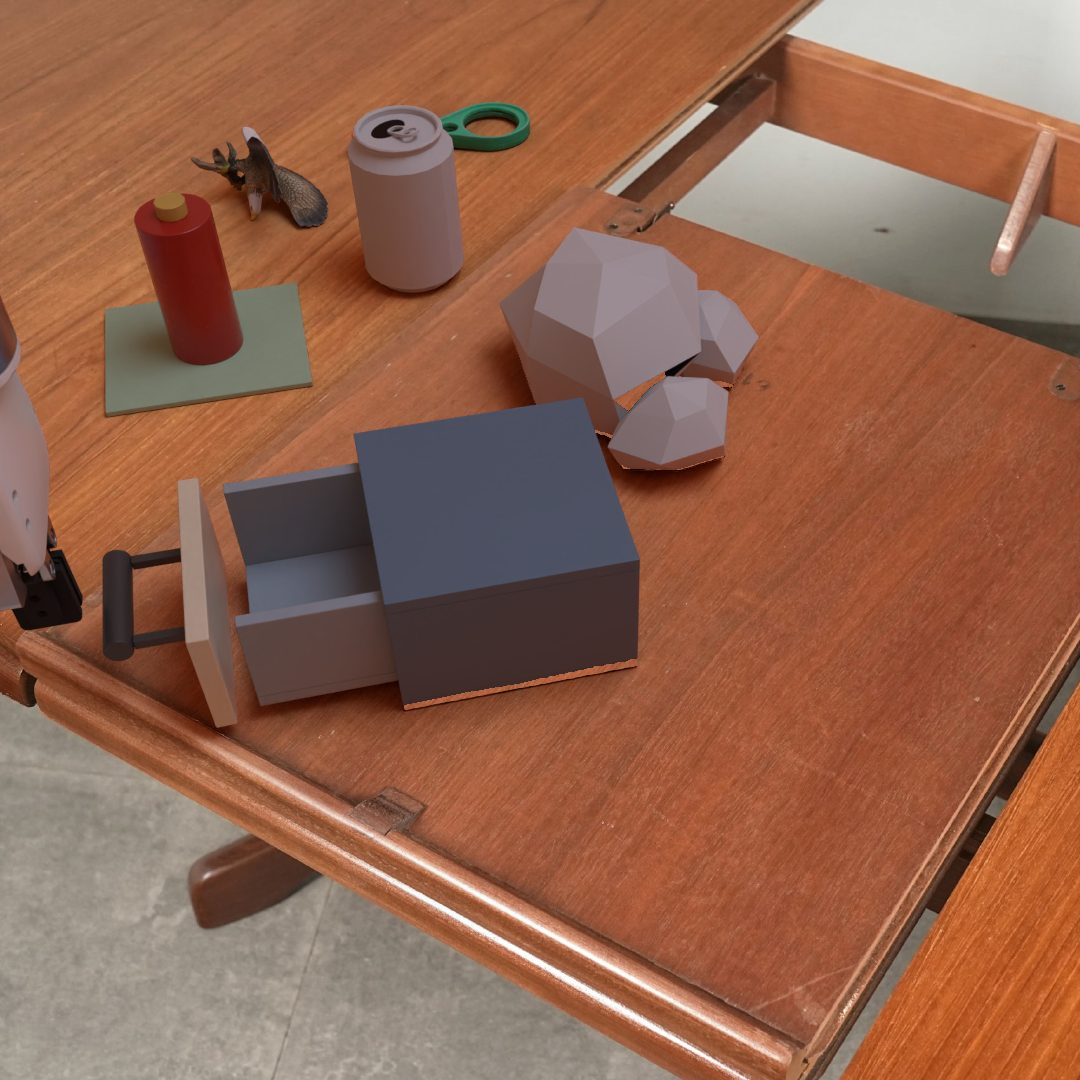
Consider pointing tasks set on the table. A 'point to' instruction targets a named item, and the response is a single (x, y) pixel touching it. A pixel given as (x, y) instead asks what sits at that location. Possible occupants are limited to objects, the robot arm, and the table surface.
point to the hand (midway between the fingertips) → (53, 615)
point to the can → (406, 198)
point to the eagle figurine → (268, 181)
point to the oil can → (189, 277)
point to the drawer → (269, 591)
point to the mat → (166, 381)
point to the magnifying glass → (469, 140)
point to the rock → (631, 346)
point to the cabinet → (499, 549)
